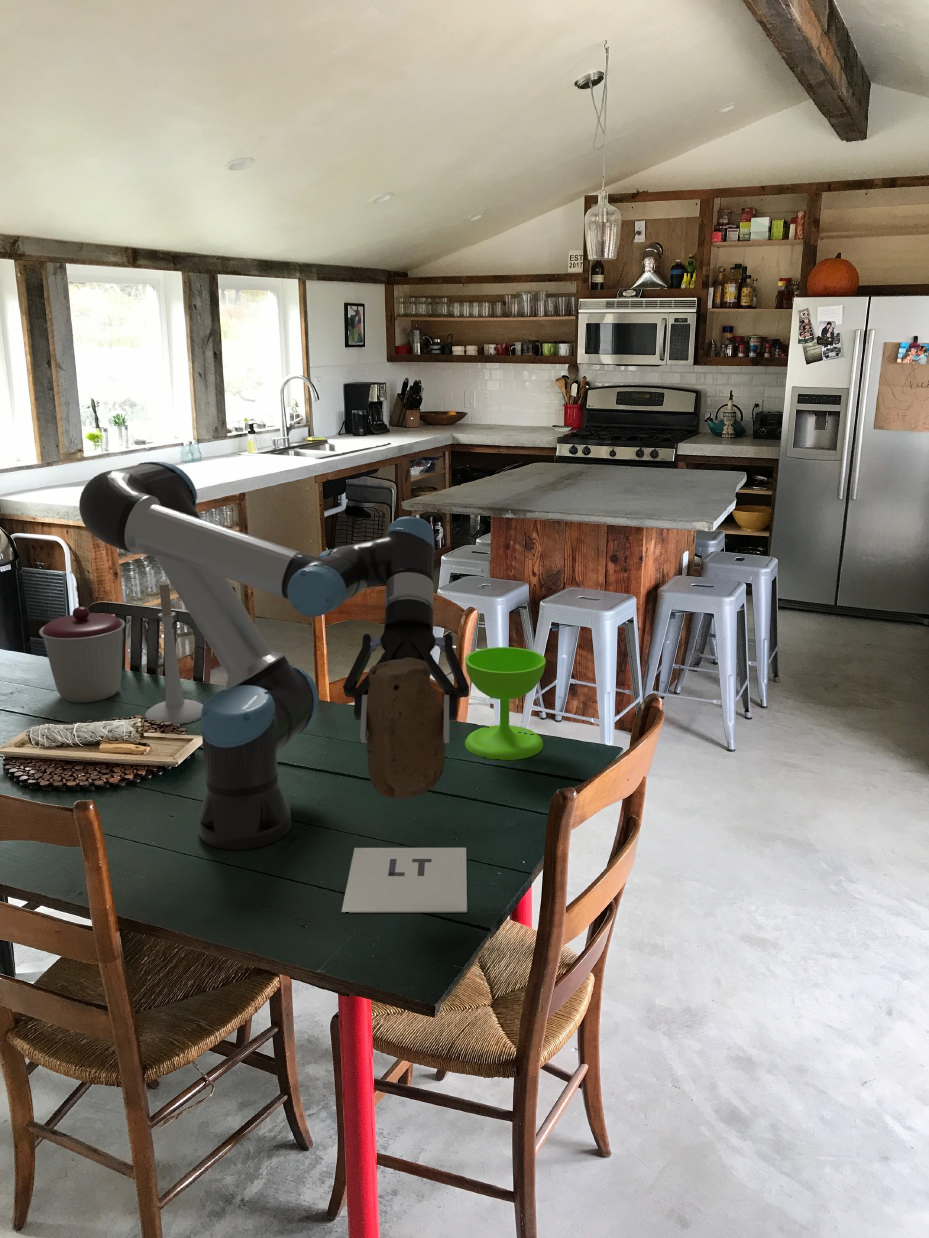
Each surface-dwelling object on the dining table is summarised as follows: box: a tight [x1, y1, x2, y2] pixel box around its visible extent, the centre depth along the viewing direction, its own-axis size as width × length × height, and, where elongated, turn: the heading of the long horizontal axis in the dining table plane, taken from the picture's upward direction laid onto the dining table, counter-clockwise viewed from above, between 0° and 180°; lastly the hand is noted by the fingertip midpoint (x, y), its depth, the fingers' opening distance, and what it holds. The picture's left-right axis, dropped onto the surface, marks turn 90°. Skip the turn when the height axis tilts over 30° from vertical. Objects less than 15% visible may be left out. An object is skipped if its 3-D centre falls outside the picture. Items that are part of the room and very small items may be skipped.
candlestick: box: [144, 582, 204, 724], centre depth 208 cm, size 13×13×30 cm
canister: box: [38, 606, 126, 704], centre depth 221 cm, size 18×18×21 cm
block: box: [366, 657, 446, 800], centre depth 144 cm, size 11×8×20 cm
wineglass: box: [464, 646, 547, 761], centre depth 195 cm, size 16×16×18 cm
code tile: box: [341, 847, 468, 914], centre depth 148 cm, size 18×18×1 cm
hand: (404, 739), depth 141 cm, fingers closed on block, 11 cm apart
